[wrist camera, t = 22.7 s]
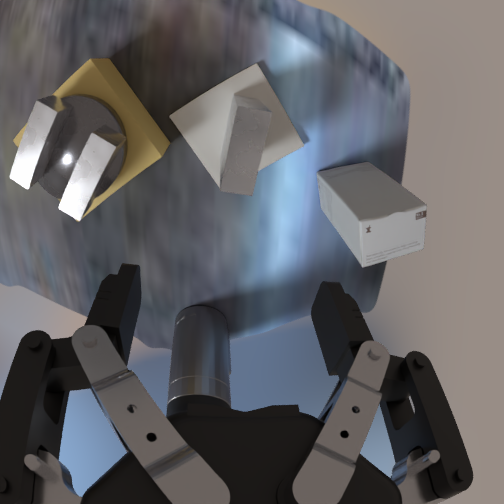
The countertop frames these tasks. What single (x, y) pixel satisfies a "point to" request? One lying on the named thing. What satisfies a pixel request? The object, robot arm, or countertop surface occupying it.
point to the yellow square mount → (129, 110)
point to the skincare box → (372, 212)
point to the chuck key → (243, 144)
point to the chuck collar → (71, 150)
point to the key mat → (216, 116)
